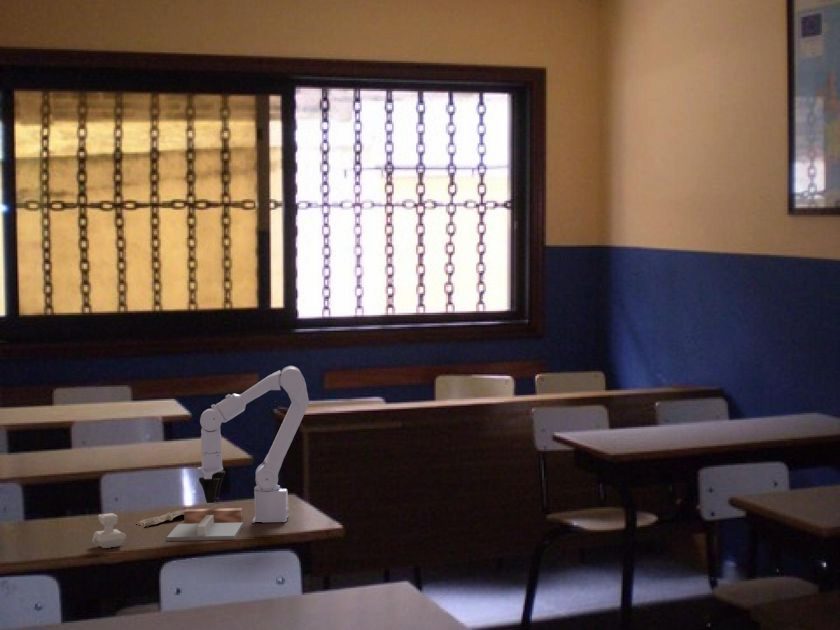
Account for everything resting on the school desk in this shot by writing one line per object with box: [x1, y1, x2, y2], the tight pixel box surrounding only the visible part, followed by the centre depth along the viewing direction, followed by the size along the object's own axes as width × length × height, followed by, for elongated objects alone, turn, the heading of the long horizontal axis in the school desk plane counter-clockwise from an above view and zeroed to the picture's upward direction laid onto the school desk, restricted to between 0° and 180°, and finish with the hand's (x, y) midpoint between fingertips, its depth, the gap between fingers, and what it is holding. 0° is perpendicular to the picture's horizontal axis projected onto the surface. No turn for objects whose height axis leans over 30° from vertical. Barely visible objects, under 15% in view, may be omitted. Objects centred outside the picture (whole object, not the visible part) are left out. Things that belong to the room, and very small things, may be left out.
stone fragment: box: [137, 507, 197, 528], centre depth 365 cm, size 25×3×10 cm
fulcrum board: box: [166, 515, 244, 542], centre depth 347 cm, size 18×16×4 cm
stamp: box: [91, 512, 127, 549], centre depth 334 cm, size 9×7×8 cm
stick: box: [183, 507, 244, 524], centre depth 359 cm, size 16×3×4 cm, turn 89°
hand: (212, 500), depth 359 cm, fingers open, 7 cm apart
